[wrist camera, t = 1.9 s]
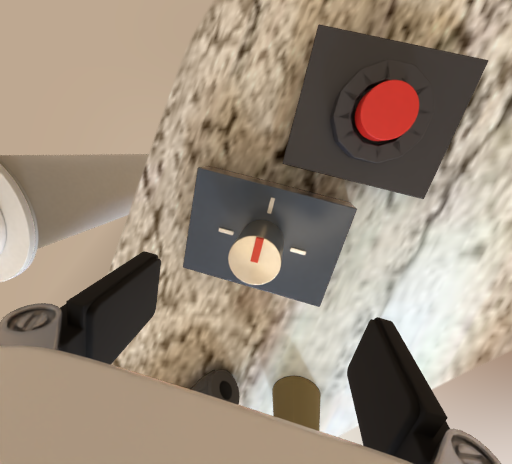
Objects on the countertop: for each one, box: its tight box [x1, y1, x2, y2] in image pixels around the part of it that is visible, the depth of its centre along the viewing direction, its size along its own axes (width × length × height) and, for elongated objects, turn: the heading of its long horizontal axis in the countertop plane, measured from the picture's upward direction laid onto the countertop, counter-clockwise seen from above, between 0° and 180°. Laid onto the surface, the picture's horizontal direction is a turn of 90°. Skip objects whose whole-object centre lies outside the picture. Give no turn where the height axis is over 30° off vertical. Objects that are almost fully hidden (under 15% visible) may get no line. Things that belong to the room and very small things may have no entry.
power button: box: [355, 80, 419, 141], centre depth 17 cm, size 4×4×2 cm
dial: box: [228, 220, 284, 285], centre depth 20 cm, size 4×4×5 cm
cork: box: [273, 376, 320, 431], centre depth 26 cm, size 6×6×11 cm
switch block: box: [283, 25, 488, 199], centre depth 19 cm, size 12×10×4 cm
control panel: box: [183, 166, 357, 307], centre depth 24 cm, size 14×10×3 cm
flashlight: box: [190, 370, 239, 405], centre depth 32 cm, size 15×5×5 cm, turn 132°
